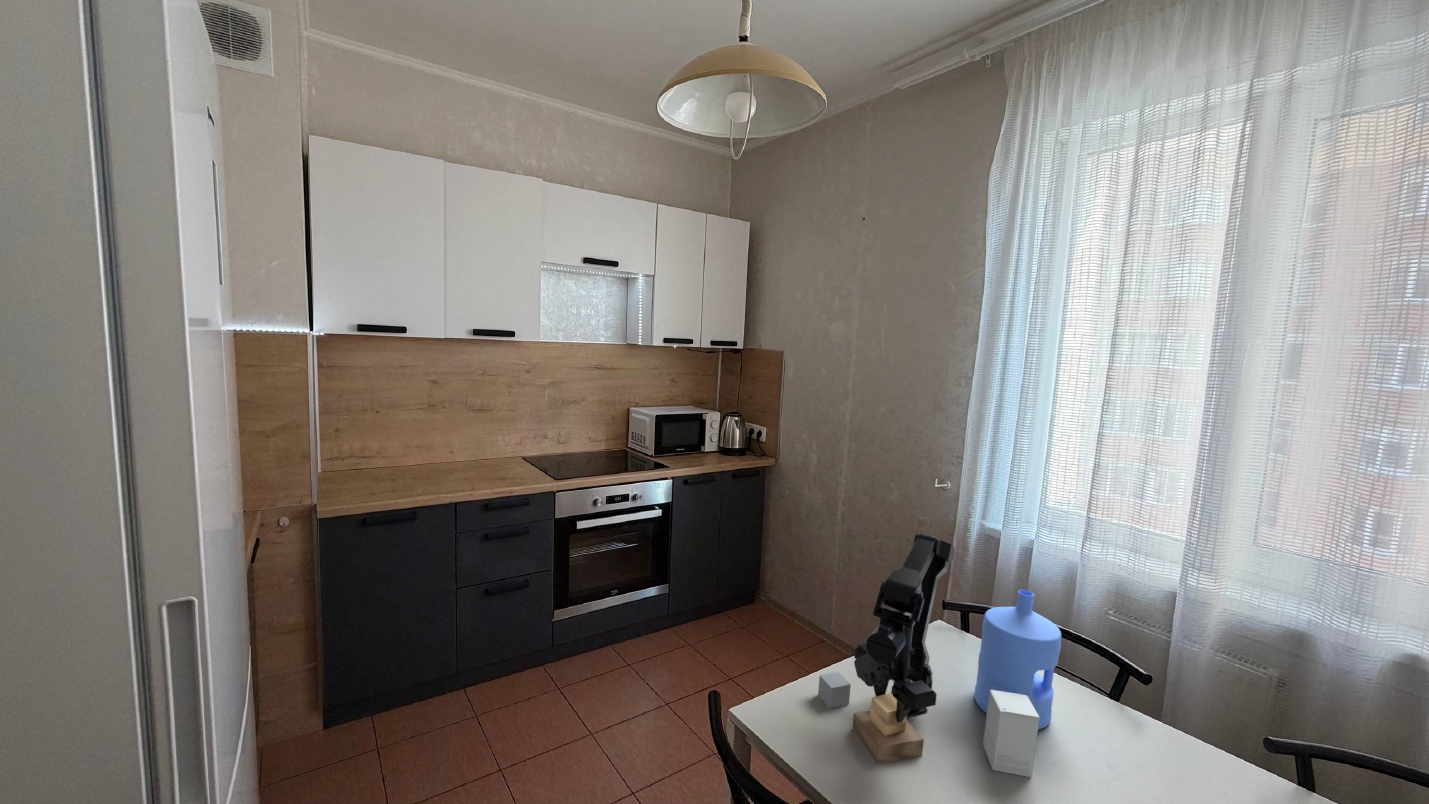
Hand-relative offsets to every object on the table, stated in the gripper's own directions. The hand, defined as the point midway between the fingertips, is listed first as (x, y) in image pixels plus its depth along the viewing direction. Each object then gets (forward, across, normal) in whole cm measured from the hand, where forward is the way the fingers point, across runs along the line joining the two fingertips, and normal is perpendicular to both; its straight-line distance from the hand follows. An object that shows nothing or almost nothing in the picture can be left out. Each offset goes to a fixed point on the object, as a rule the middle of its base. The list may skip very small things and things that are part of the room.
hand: (889, 712), depth 117 cm
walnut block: (+7, 0, 0) cm, 7 cm away
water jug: (+7, 0, +35) cm, 36 cm away
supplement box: (+7, +12, +20) cm, 24 cm away
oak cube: (+3, 0, 0) cm, 3 cm away
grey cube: (+7, -15, -3) cm, 17 cm away
